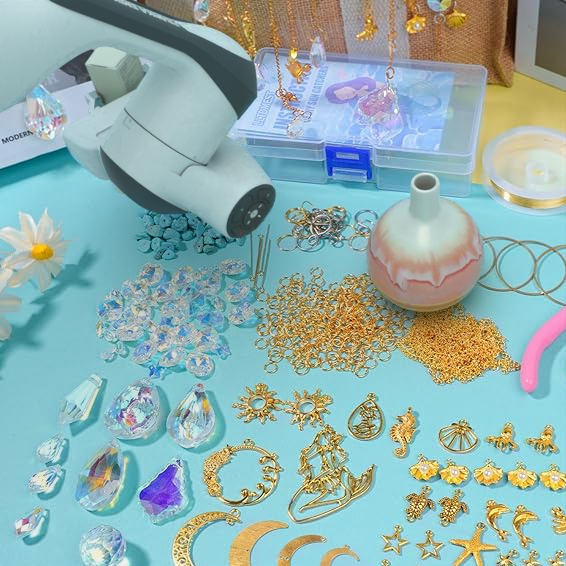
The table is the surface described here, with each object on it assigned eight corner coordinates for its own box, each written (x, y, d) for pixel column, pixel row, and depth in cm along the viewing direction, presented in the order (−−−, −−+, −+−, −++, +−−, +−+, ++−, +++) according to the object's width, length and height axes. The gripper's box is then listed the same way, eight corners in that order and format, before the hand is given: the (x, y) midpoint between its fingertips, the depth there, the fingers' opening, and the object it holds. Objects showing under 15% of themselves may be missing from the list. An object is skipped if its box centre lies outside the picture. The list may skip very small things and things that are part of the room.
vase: (363, 329, 98) (353, 228, 84) (374, 241, 106) (366, 135, 91) (480, 334, 96) (490, 232, 82) (482, 245, 104) (492, 137, 89)
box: (131, 110, 108) (104, 36, 99) (160, 115, 107) (136, 40, 98) (112, 136, 105) (83, 63, 96) (142, 142, 104) (115, 68, 95)
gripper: (245, 75, 95) (182, 23, 102) (90, 160, 89) (34, 100, 96) (254, 118, 100) (194, 66, 107) (108, 202, 94) (54, 141, 101)
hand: (117, 83), depth 102 cm, fingers closed on box, 6 cm apart
